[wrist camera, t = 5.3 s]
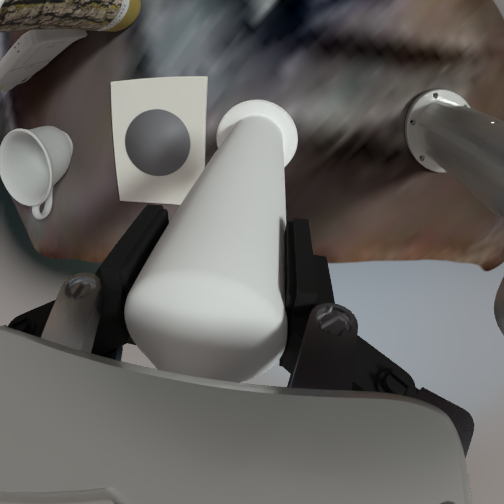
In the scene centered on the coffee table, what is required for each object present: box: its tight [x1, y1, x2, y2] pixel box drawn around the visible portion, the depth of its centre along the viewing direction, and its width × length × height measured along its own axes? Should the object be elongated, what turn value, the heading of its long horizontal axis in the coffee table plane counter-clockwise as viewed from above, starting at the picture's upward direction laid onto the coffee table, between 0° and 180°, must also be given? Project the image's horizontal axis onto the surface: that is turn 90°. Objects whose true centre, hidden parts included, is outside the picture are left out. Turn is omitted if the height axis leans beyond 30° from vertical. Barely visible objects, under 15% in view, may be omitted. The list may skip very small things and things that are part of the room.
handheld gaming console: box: [0, 29, 87, 92], centre depth 27 cm, size 11×3×15 cm
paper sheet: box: [111, 76, 208, 205], centre depth 39 cm, size 14×19×1 cm
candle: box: [124, 100, 298, 383], centre depth 15 cm, size 7×7×25 cm
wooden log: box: [0, 0, 141, 32], centre depth 17 cm, size 7×7×25 cm
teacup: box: [0, 126, 73, 219], centre depth 36 cm, size 12×15×10 cm
